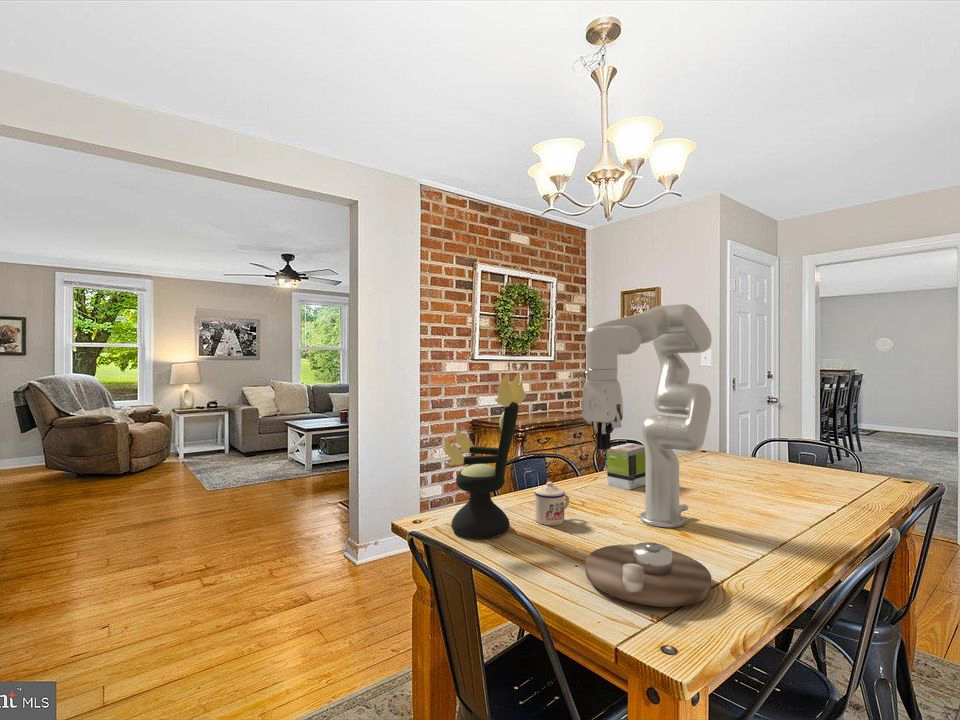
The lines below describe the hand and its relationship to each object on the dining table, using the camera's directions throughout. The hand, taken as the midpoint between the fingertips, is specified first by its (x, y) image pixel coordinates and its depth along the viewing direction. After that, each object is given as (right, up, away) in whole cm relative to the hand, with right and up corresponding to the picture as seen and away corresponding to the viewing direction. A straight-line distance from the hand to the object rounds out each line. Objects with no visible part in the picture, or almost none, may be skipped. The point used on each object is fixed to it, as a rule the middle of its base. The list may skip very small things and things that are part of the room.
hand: (603, 448), depth 123 cm
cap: (+7, -23, -16) cm, 29 cm away
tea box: (+26, -26, +65) cm, 75 cm away
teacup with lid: (-9, -26, +25) cm, 37 cm away
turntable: (+5, -25, -15) cm, 30 cm away
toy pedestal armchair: (-29, -27, +17) cm, 43 cm away
